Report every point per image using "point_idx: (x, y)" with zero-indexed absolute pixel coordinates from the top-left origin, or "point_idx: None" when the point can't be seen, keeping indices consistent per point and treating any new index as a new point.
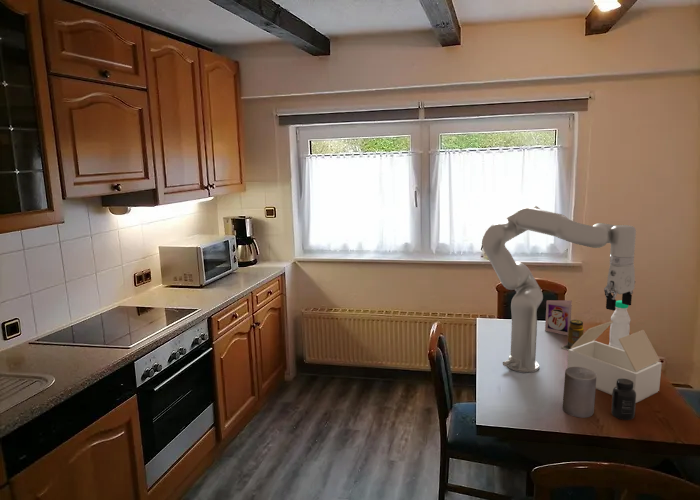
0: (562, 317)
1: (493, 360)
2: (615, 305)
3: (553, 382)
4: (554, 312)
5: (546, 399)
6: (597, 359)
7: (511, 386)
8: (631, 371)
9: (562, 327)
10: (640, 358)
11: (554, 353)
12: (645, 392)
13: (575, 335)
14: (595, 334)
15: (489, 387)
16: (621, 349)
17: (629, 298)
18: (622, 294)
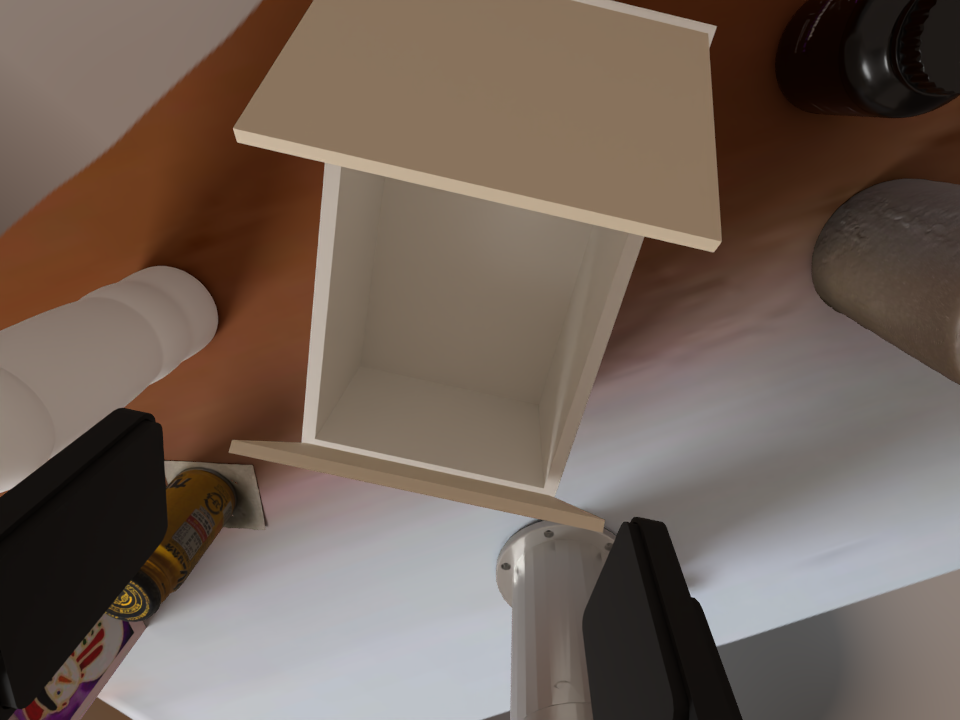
0: None
1: None
2: (663, 589)
3: (642, 431)
4: (61, 693)
5: (837, 393)
6: (600, 333)
7: (785, 531)
8: None
9: None
10: (574, 43)
11: (340, 528)
12: None
13: (193, 536)
14: (378, 463)
15: (840, 581)
16: (158, 308)
17: (59, 521)
18: (39, 693)
